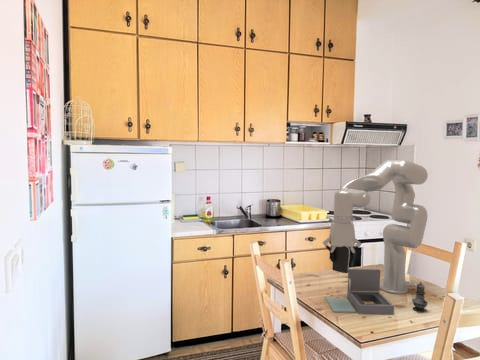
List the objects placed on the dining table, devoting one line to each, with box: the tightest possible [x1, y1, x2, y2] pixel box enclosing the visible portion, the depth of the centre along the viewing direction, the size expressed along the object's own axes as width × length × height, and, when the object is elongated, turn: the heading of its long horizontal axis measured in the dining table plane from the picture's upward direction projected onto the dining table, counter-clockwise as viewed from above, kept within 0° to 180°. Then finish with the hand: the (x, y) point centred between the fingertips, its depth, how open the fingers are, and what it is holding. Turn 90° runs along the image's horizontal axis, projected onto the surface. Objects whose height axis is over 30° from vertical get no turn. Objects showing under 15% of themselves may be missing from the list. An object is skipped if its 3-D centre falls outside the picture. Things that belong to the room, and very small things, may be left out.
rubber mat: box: [325, 297, 357, 314], centre depth 151 cm, size 9×14×1 cm, turn 0°
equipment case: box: [346, 268, 395, 315], centre depth 151 cm, size 14×16×14 cm
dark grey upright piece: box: [411, 281, 429, 313], centre depth 148 cm, size 6×6×12 cm
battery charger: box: [332, 246, 351, 274], centre depth 150 cm, size 7×4×11 cm, turn 52°
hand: (341, 261), depth 150 cm, fingers closed on battery charger, 7 cm apart
